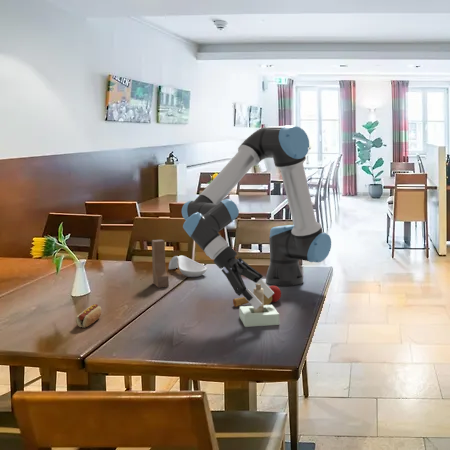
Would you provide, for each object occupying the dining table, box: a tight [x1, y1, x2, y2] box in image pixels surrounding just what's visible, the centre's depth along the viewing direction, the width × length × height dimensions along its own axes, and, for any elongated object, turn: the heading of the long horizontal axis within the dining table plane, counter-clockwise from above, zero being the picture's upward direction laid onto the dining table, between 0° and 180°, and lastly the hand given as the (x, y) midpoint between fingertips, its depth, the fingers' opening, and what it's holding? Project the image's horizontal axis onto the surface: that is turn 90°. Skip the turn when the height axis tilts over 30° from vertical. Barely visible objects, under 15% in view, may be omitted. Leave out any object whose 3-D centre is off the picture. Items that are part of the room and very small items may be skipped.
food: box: [75, 303, 102, 329], centre depth 201 cm, size 14×6×5 cm, turn 171°
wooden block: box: [151, 239, 170, 289], centre depth 249 cm, size 9×4×18 cm, turn 19°
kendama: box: [232, 285, 282, 308], centre depth 220 cm, size 8×6×18 cm
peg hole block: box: [238, 304, 280, 328], centre depth 202 cm, size 11×16×4 cm
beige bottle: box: [253, 283, 264, 313], centre depth 199 cm, size 3×3×12 cm
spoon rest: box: [168, 254, 208, 278], centre depth 270 cm, size 24×12×7 cm, turn 35°
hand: (265, 301), depth 198 cm, fingers open, 13 cm apart
